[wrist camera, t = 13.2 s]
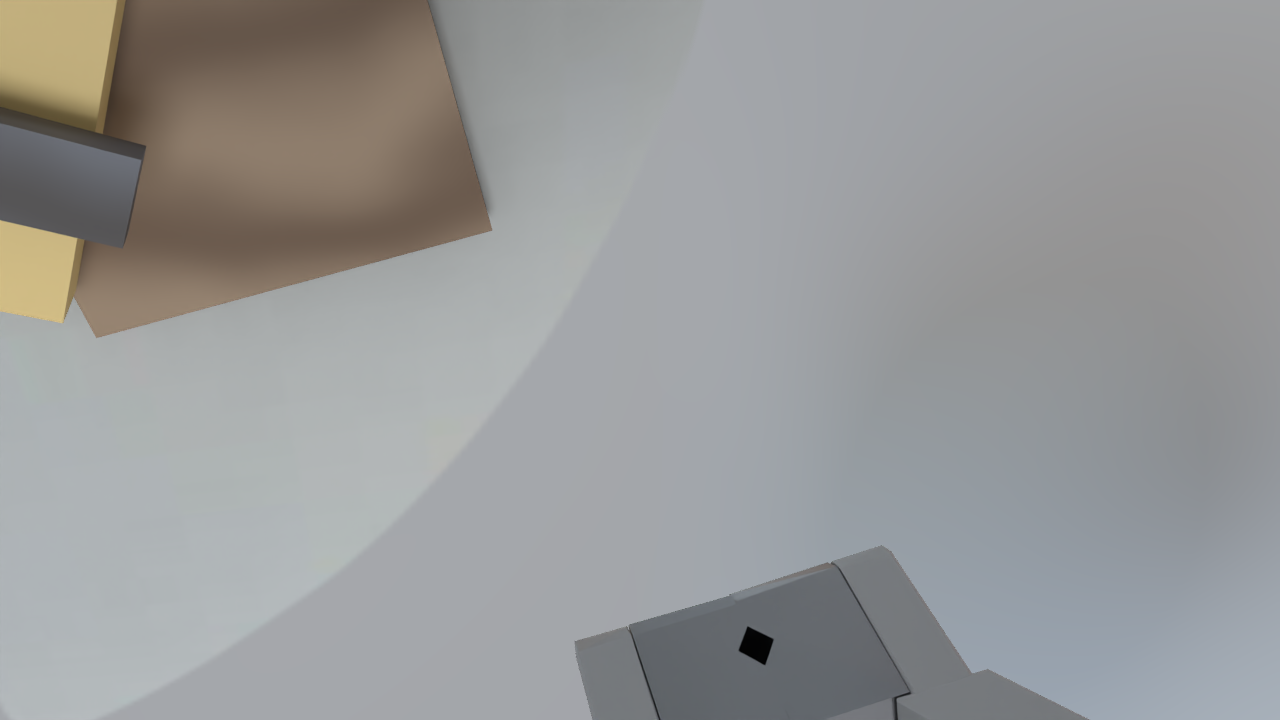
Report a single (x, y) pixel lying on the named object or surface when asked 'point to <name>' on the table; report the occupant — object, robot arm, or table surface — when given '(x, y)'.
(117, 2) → the link
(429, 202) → the board
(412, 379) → the table surface
